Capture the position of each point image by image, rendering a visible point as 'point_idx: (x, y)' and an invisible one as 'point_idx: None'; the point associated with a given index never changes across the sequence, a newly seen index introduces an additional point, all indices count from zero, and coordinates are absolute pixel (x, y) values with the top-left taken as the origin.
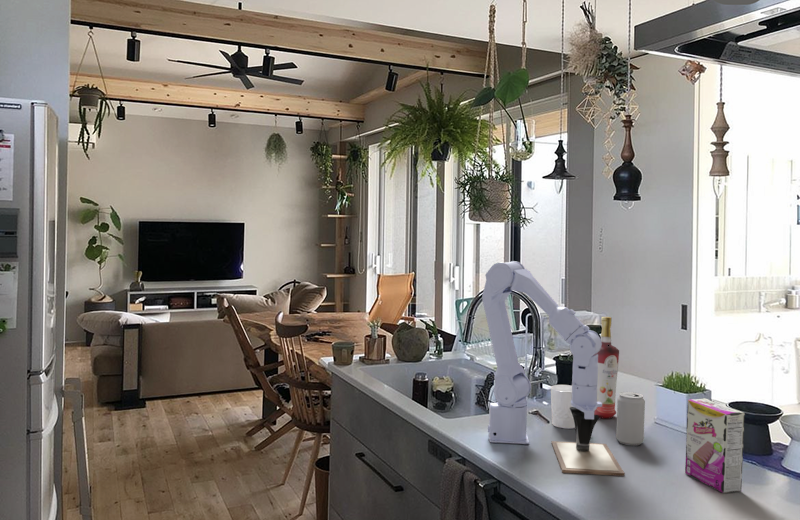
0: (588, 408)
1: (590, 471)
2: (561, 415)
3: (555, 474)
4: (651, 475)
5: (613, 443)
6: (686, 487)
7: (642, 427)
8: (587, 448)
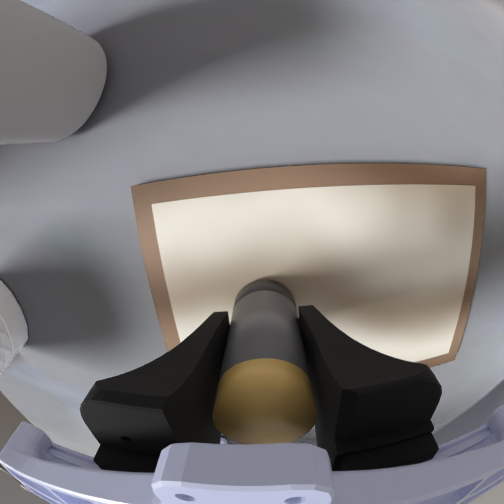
0: (484, 488)
1: (474, 285)
2: (5, 352)
3: (456, 367)
4: (451, 68)
5: (90, 151)
6: (489, 21)
7: (52, 16)
8: (291, 295)
